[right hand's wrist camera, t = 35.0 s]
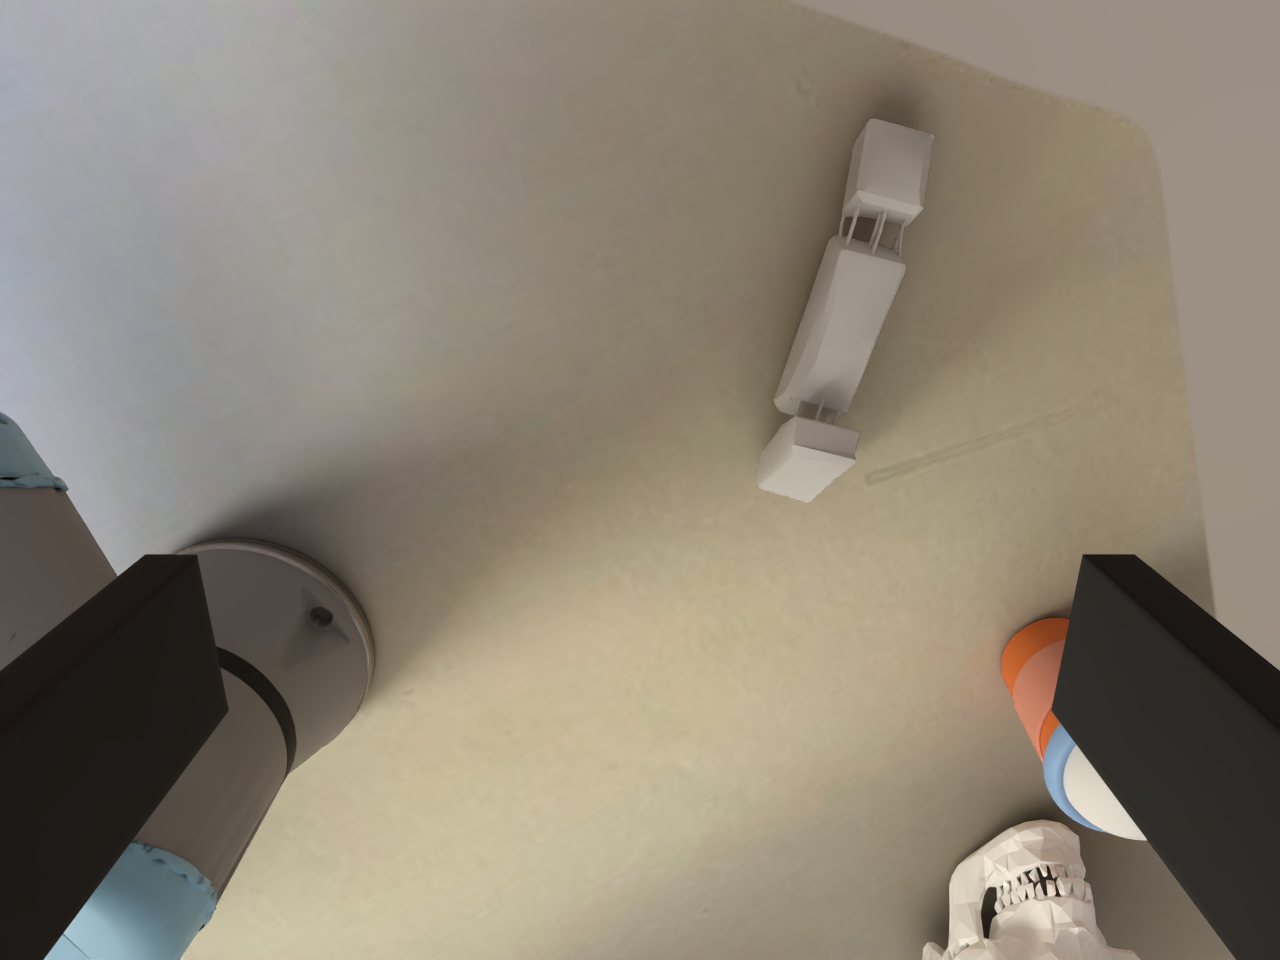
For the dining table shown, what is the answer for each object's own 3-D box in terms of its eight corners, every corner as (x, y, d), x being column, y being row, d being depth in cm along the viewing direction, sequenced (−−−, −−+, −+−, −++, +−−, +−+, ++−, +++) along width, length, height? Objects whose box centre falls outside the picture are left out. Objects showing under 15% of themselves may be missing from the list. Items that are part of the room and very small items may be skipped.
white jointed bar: (808, 495, 50) (838, 532, 44) (748, 481, 50) (768, 517, 43) (916, 144, 45) (967, 126, 39) (849, 126, 45) (890, 105, 38)
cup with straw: (1129, 592, 53) (1356, 793, 36) (1108, 713, 56) (1308, 950, 40) (983, 599, 53) (1141, 802, 36) (971, 719, 57) (1111, 958, 40)
